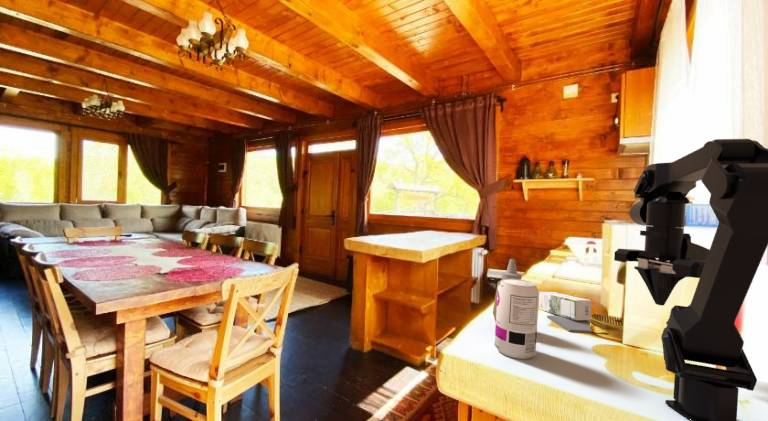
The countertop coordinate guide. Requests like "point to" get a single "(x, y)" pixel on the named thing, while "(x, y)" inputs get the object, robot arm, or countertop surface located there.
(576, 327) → the slate mat
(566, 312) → the syrup box
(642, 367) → the countertop surface
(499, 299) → the supplement can
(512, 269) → the squeeze bottle
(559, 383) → the countertop surface
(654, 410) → the countertop surface
